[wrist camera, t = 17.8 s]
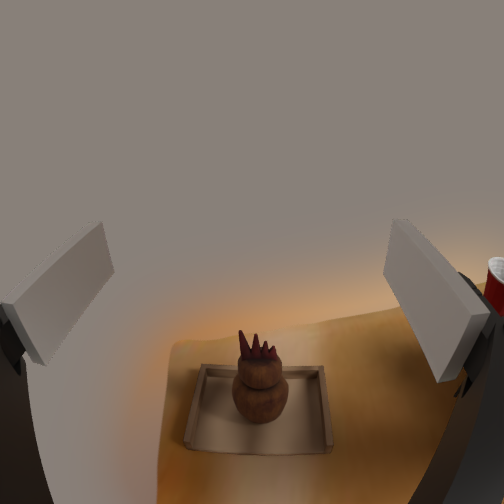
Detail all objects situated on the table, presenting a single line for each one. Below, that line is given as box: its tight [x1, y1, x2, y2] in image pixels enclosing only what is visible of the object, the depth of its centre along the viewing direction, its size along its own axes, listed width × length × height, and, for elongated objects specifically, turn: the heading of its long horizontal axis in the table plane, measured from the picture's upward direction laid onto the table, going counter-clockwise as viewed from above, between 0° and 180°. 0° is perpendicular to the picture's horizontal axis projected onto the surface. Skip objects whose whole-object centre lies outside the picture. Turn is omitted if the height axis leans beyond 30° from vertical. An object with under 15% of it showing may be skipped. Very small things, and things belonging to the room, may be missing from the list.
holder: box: [183, 364, 334, 455], centre depth 35 cm, size 18×13×2 cm
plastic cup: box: [483, 257, 504, 317], centre depth 44 cm, size 11×11×12 cm
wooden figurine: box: [232, 330, 289, 424], centre depth 32 cm, size 7×6×15 cm
